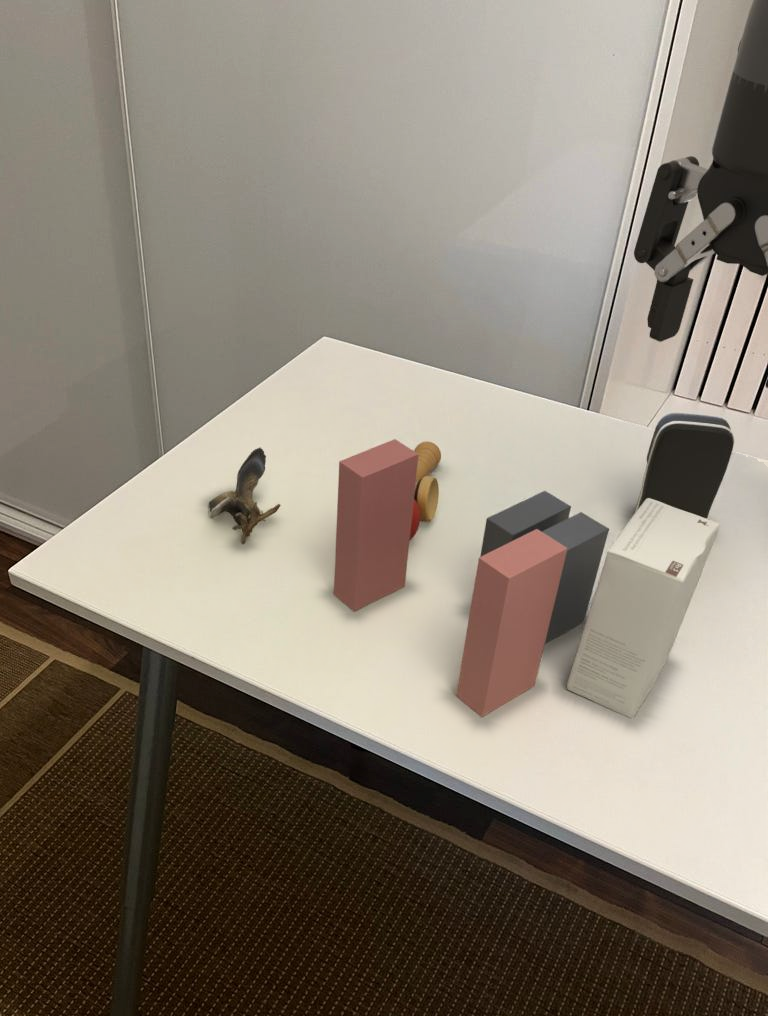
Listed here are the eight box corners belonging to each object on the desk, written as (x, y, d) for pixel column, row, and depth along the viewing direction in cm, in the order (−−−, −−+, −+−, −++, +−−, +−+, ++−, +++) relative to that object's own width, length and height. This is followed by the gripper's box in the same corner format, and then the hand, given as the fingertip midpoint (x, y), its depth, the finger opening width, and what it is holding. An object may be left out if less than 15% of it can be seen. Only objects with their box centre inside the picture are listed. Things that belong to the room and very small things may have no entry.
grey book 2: (558, 604, 87) (581, 511, 81) (584, 621, 85) (609, 528, 79) (503, 634, 84) (521, 541, 77) (528, 653, 82) (550, 559, 76)
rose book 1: (383, 570, 91) (395, 438, 81) (404, 586, 89) (418, 453, 80) (333, 594, 88) (338, 461, 79) (354, 611, 86) (362, 477, 77)
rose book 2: (508, 665, 81) (537, 528, 72) (534, 686, 79) (567, 548, 70) (455, 695, 79) (478, 557, 69) (481, 717, 77) (509, 578, 67)
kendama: (383, 470, 106) (331, 542, 92) (399, 417, 102) (348, 484, 88) (449, 495, 105) (407, 572, 91) (468, 443, 101) (428, 515, 87)
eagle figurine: (301, 528, 94) (282, 465, 99) (263, 487, 88) (244, 423, 94) (236, 566, 96) (220, 502, 101) (195, 528, 91) (181, 463, 96)
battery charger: (700, 514, 98) (735, 412, 90) (704, 536, 95) (741, 432, 87) (629, 506, 99) (658, 404, 91) (631, 527, 96) (661, 424, 88)
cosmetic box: (601, 637, 84) (644, 491, 74) (670, 665, 81) (724, 518, 71) (562, 693, 79) (602, 545, 69) (634, 725, 76) (687, 576, 66)
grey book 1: (525, 581, 90) (544, 490, 83) (550, 598, 88) (571, 506, 81) (470, 610, 87) (486, 517, 80) (495, 628, 85) (512, 535, 78)
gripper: (986, 85, 48) (857, 387, 59) (735, 36, 56) (663, 308, 67) (906, 109, 44) (784, 424, 55) (652, 53, 53) (590, 336, 64)
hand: (718, 360), depth 61 cm, fingers open, 8 cm apart
